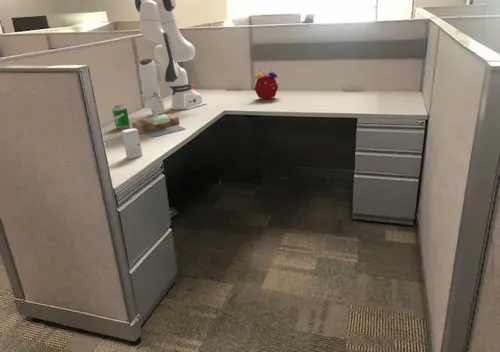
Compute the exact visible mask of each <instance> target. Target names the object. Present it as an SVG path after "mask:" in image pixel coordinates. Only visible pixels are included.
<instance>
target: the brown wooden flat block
mask: <svg viewBox="0 0 500 352" xmlns="http://www.w3.org/2000/svg"><path fill="white" fill-rule="evenodd" d="M165 114H166V115H167V116H169V117H170V122H166V123H162V124H157V125H153V124H152V123H150V121H149V118H150V117H148V118H144V119H139V120H134V121H131V123H132V128H136V129H137V130H138V133H139V132H140V133H139V134H141V133H142V134H145V133H144V132H149V131H153V130H157V129H161V128H165V127H169V126H173V125H179V126H180V124H181V123H180V117H179V116H177V115H174V114H172V113H165Z"/></svg>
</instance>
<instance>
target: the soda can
mask: <svg viewBox="0 0 500 352" xmlns="http://www.w3.org/2000/svg"><path fill="white" fill-rule="evenodd" d="M111 111H112V115H113V120H114V125H115V128H116V129H118V128H119V129H118V130H123V129H122V128H125V129H127V128H126V127H128V126H130V125H131V124H130V120H129V119H130V118H129V114H128V109H127V106H125V105H124V104H117V105H114V106H113V107H112V108H111ZM128 128H129V127H128Z"/></svg>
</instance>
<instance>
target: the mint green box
mask: <svg viewBox="0 0 500 352" xmlns="http://www.w3.org/2000/svg"><path fill="white" fill-rule="evenodd" d="M166 114H167V113H165V114H158V116H154V117H153V116H150V117H148V118H149V121H150V123H152V124H153V125H157V124H162V123H166V122H170V117H169V116H167V115H166Z"/></svg>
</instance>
